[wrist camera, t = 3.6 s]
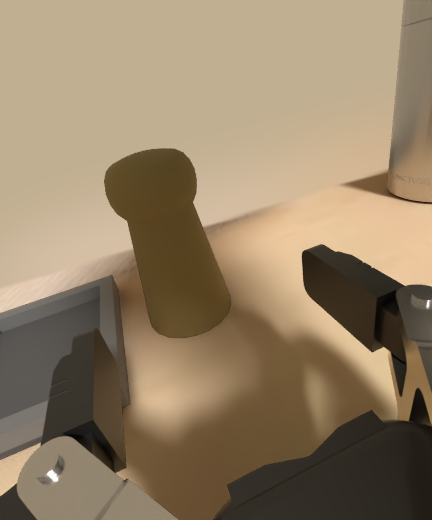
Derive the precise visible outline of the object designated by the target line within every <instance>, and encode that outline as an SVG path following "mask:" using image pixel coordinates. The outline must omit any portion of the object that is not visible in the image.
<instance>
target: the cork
mask: <svg viewBox="0 0 432 520" xmlns="http://www.w3.org/2000/svg"><path fill="white" fill-rule="evenodd" d="M104 183H105V191H106V195H107V198H108V200H109V202H110V205H111V207H112V208H113V209H114V211H115V212H116V213H117V214H118V215H119V216H121V217H122V218H124V219H125V220H127V222H128V227H129V231H130V235H131V240H132V244H133V248H134V253H135V257H136V261H137V266H138V270H139V274H140V279H141V283H142V287H143V292H144V296H145V300H146V305H147V309H148V313H149V318H150V322H151V325H152V327H153V328H154V329H155V330H156V331H157V332H158V333H159V334H161V335H164V336H167V337H173V338H185V337H190V336H196V335H198V334H201V333H203V332H206V331H208V330H210V329H211V328H213V327H214V326H216V325H217V324H218V323H220V322H221V321H222V320H223V318H224V317H225V316H226V315H227V313H228V311H229V308H230V305H231V300H230V295H229V292H228V290H227V287H226V285H225V282H224V280H223V277H222V275H221V272H220V270H219V267H218V265H217V262H216V259H215V257H214V254H213V252H212V249H211V247H210V244H209V242H208V239H207V237H206V234H205V232H204V229H203V227H202V224H201V222H200V219H199V217H198V214H197V212H196V209H195V206H194V204H193V200H194V198H195V195H196V188H197V178H196V174H195V169H194V167H193V165H192V163H191V161H190V159H189V158H188V157H187V156H186V155H185V154H184V153H183V152H181V151H178V150H176V149H151V150H145V151H141V152H138V153H134V154H132V155H129V156H127V157H125V158H123V159H121V160H119V161H117V162H116V163H114V164H112V165H111V166H110V167H109V168H108V170H107V171H106V174H105V179H104Z"/></svg>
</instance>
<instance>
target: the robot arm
mask: <svg viewBox="0 0 432 520" xmlns="http://www.w3.org/2000/svg"><path fill="white" fill-rule="evenodd" d="M387 189H388V190H389V191H390V192H391V193H392V194H394V195H396V196H399V197H402V198H405V199H410V200H415V201H422V202H432V0H404V4H403V15H402V29H401V39H400V50H399V62H398V72H397V83H396V95H395V105H394V116H393V127H392V139H391V149H390V159H389V170H388V182H387ZM302 267H303V282H304V287H305V290H306V292H307V294H308V295H309V296H310V297H311V298H312V299H313V300H314V301H315V302H316V303H317V304H318V305H319V306H321V307H322V308H323V309H324V310H325V311H326V312H327V313H328V314H330V315H331V316H332V317H333V318H334V319H335V320H336V321H337V322H338V323H340V324H341V325H342V326H343V327H344V328H345V329H346V330H347V331H349V332H350V333H351V334H352V335H353V336H354V337H355V338H356V339H358V340H359V341H360V342H361V343H362V344H363V345H364V346H365V347H367V348H368V349H369V350H370V351H371V352H374V351H376V350H378V349H380V348H382V347H385V348H386V349H388V350H389V353H388V359H389V365H390V370H391V375H392V380H393V385H394V390H395V396H396V401H397V407H398V420H382V421H381V420H380V419H379V418H378V416H377V415H376V414H375V413H374V412H373V411H372V410H370V411H368V412H367V413H365V414H363V415H361V416H359V417H357V418H355V419H353V420H351V421H349V422H347V423H345V424H343V425H341V426H340V427H338V428H337V429H336V430H335V431H334V432H333V433H332V434H331V435H330V436H329V437H328V438H327V439H326V440H325V441H324V443H323V444H322V445H321V446H320V447H319V448H318V449H317V450H316V451H315V452H314V453H313V454H311V455H310V456H308V457H305V458H299V459H294V460H289V461H284V462H279V463H273V464H268V465H264V466H263V467H261V468H259V469H257V470H255V471H253V472H251V473H249V474H247V475H245V476H243V477H241V478H239V479H238V480H236V481H234V482H232V483H230V484H228V485H227V487H228V490H229V493H230V496H231V499H230V500H229V501H228V502H227V503H226V504H225V505H224V506H223V507H222V508H221V509H220V511H219V512H218V513H217V514H216V516H215V518H214V519H213V520H432V287H431V286H427V285H408V286H404V285H402V284H401V283H399V282H397V281H395V280H394V279H392V278H390V277H389V276H387V275H385V274H383V273H382V272H380V271H378V270H377V269H375V268H372V267H371V266H370V265H368V264H366V263H363V262H362V261H361V260H359V259H358V258H356V257H354V256H352V255H350V254H346V253H342V252H335V251H333V250H331V249H330V248H328V247H326V246H325V245H322V244H320V245H318V246H315V247H312V248H310V249H307V250H305V251H303V253H302ZM51 387H52V388H50V394H49V398H50V399H49V400H48V405H47V411H46V417H45V423H44V429H43V435H42V441H41V446H40V447H39V448H38V449H37V450H36V451H35V452H34V453H33V454H32V455H31V456H30V458H29V459H28V460H27V462H26V463H25V465H24V466H23V468H22V470H21V472H20V475H19V478H18V481H17V484H15V485H14V486H13V487H12V488H11V489H10V490H8V491H7V492H6V493H4V494H3V495H2V496H0V520H178V519H177V518H176V517H174V516H173V515H172V514H171V513H169V512H168V511H167V510H166V509H165V508H163V507H162V506H161V505H160V504H158V503H157V502H156V501H155V500H154V499H152V498H151V497H150V496H149V495H147V494H146V493H145V492H144V491H143V490H141V489H140V488H139V487H138V486H136V485H135V484H134V483H132V482H131V481H130V480H128V479H126V480H123V479H122V478H120V477H119V476H118V475H117V474H115V473H116V472H118V471H120V470H123V469H125V468H126V455H125V442H124V429H123V417H122V404H121V391H120V378H119V371H118V367H117V364H116V361H115V359H114V357H113V355H112V353H111V351H110V350H109V348H108V346H107V344H106V342H105V340H104V339H103V337H102V335H101V333H100V331H99V330H98V329H97V328H95V329H92V330H90V331H87V332H84V333H82V334H79V335H76V336H74V337H73V342H72V351H71V354H69V355H66V356H63V357H62V358H61V359H60V361H59V363H58V364H57V366H56V368H55V369H54V371H53V376H52V382H51Z"/></svg>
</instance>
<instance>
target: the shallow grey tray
mask: <svg viewBox="0 0 432 520" xmlns="http://www.w3.org/2000/svg"><path fill="white" fill-rule="evenodd" d="M95 328H97V329H98V330H99V331H100V333H101V335H102V337H103V339H104V340H105V342H106V344H107V346H108V348H109V350H110V351H111V353H112V355H113V357H114V359H115V361H116V364H117V367H118V371H119V378H120V391H121V404H122V407H124V406H127V405H129V404H130V399H129V389H128V380H127V370H126V360H125V350H124V341H123V331H122V321H121V312H120V302H119V292H118V288H117V286H116V283H115V281H114V279H113V277H112V275H111V276H108V277H105V278H102V279H99V280H96V281H93V282H90V283H87V284H84V285H81V286H78V287H75V288H73V289H70V290H67V291H64V292H61V293H58V294H55V295H52V296H49V297H46V298H43V299H40V300H37V301H34V302H32V303H29V304H26V305H23V306H20V307H17V308H14V309H11V310H8V311H5V312H2V313H0V460H1V459H3V458H6V457H8V456H10V455H13V454H15V453H17V452H20V451H22V450H24V449H27V448H29V447H31V446H34V445H36V444H38V443H40V442H41V441H42V435H43V429H44V423H45V417H46V411H47V405H48V400H49V399H50V398H49V394H50V388H52V387H51V382H52V376H53V371H54V369H55V368H56V366H57V364H58V363H59V361H60V359H61V358H62V357H63V356H66V355H69V354H71V351H72V342H73V337H74V336H76V335H79V334H82V333H84V332H87V331H90V330H92V329H95Z"/></svg>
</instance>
